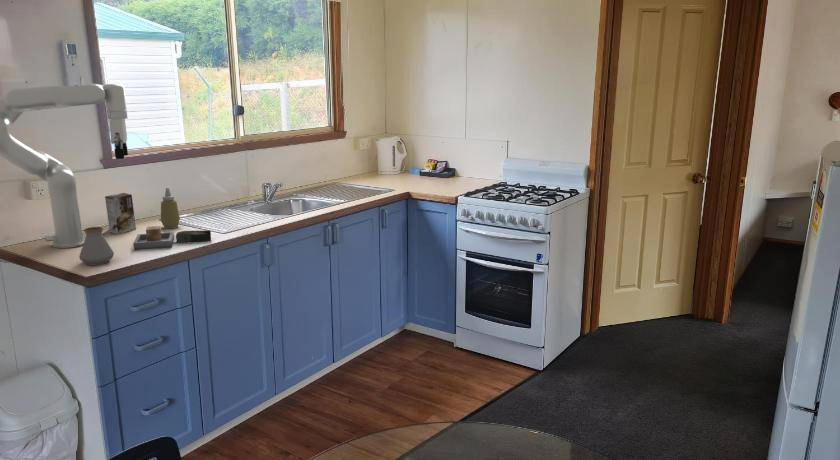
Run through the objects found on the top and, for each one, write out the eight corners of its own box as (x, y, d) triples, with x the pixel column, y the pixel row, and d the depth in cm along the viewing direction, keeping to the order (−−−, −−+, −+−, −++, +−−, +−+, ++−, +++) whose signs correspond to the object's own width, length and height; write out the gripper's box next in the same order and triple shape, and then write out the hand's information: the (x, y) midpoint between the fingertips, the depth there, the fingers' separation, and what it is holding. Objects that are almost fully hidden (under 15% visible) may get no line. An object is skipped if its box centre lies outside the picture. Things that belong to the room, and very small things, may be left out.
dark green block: (210, 229, 261) (172, 231, 255) (210, 230, 258) (172, 232, 253) (210, 240, 262) (172, 242, 256) (211, 242, 259) (172, 244, 254)
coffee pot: (90, 269, 223) (85, 228, 219) (74, 263, 229) (68, 224, 225) (145, 255, 240) (141, 217, 236) (128, 249, 246) (124, 213, 242)
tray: (134, 250, 245) (133, 243, 245) (138, 241, 258) (137, 234, 258) (171, 247, 249) (171, 240, 249) (174, 238, 262) (173, 231, 262)
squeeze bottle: (160, 226, 283) (156, 187, 278) (179, 224, 286) (175, 186, 282) (162, 230, 276) (158, 190, 271) (181, 228, 279) (178, 189, 275)
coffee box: (127, 227, 280) (123, 192, 276) (136, 229, 277) (132, 194, 272) (108, 231, 272) (104, 196, 268) (117, 234, 269) (113, 197, 265)
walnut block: (147, 244, 251) (145, 229, 249) (148, 240, 255) (147, 226, 254) (160, 243, 252) (159, 228, 251) (161, 239, 257) (160, 225, 255)
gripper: (110, 113, 258) (115, 154, 263) (103, 116, 242) (108, 160, 247) (130, 113, 261) (134, 154, 265) (123, 116, 245) (128, 159, 249)
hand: (121, 157), depth 256 cm, fingers open, 9 cm apart
